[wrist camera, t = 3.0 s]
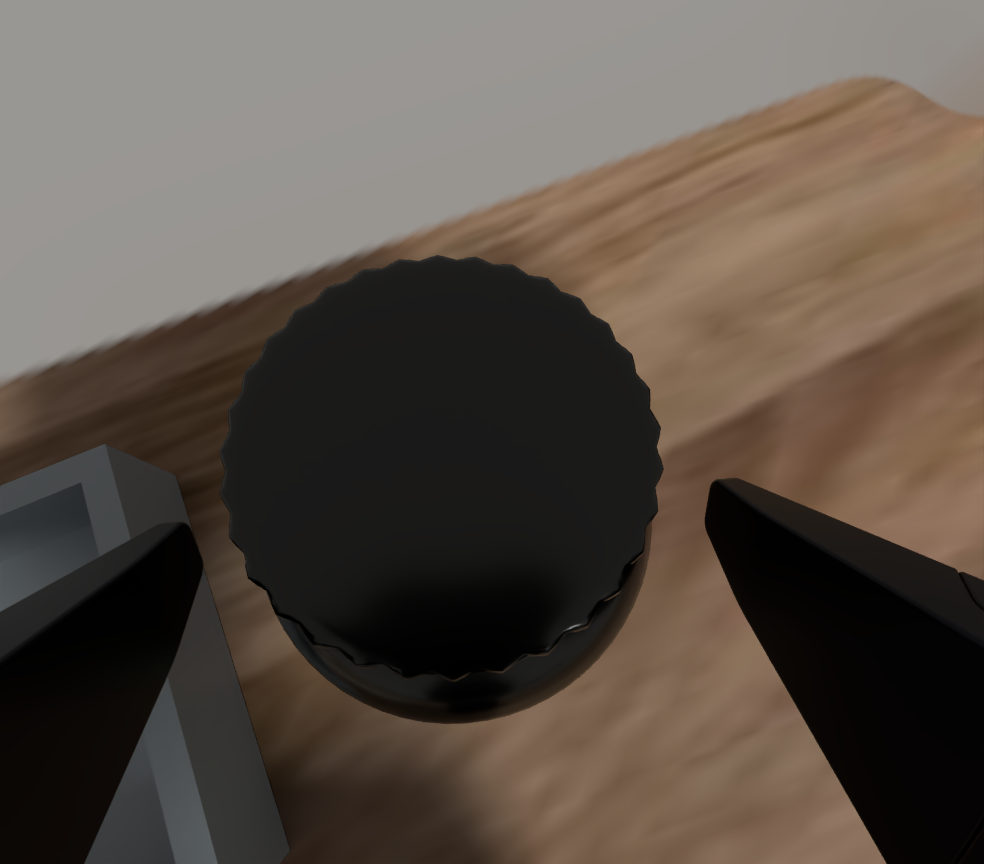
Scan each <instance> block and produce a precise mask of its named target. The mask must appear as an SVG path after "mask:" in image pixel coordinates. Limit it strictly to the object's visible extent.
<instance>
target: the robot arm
mask: <svg viewBox="0 0 984 864" xmlns="http://www.w3.org/2000/svg"><path fill="white" fill-rule="evenodd" d="M705 528H706V531H707V534H708V536H709V538H710V541H711V543H712V545H713V548H714V550H715V552H716V555H717V557H718V559H719V562H720V564H721V566H722V568H723V571H724V573H725V575H726V578H727V580H728V582H729V585H730V587H731V589H732V591H733V594H734V596H735V598H736V600H737V602H738V604H739V606H740V608H741V610H742V612H743V614H744V615H745V617H746V619H747V621H748V623H749V624H750V626H751V628H752V630H753V631H754V633H755V635H756V637H757V638H758V640H759V642H760V643H761V645H762V647H763V649H764V650H765V652H766V654H767V656H768V657H769V659H770V661H771V663H772V664H773V666H774V668H775V670H776V671H777V673H778V675H779V677H780V678H781V680H782V682H783V684H784V685H785V687H786V689H787V691H788V692H789V694H790V696H791V698H792V699H793V701H794V703H795V705H796V706H797V708H798V710H799V712H800V713H801V715H802V717H803V719H804V720H805V722H806V724H807V726H808V727H809V729H810V731H811V733H812V734H813V736H814V738H815V740H816V741H817V743H818V745H819V747H820V748H821V750H822V752H823V753H824V755H825V757H826V759H827V760H828V762H829V764H830V766H831V767H832V769H833V771H834V773H835V774H836V776H837V778H838V780H839V781H840V783H841V785H842V787H843V788H844V790H845V792H846V794H847V795H848V797H849V799H850V801H851V802H852V804H853V806H854V808H855V809H856V811H857V813H858V815H859V816H860V818H861V820H862V822H863V823H864V825H865V827H866V829H867V830H868V832H869V834H870V836H871V837H872V839H873V841H874V843H875V844H876V846H877V848H878V850H879V851H880V853H881V855H882V856H883V858H884V860H885V862H886V863H887V864H984V580H981V579H979V578H977V577H974V576H972V575H969V574H967V573H965V572H959V573H958V571H957V570H956V569H955V568H952V567H950V566H948V565H945V564H943V563H940V562H938V561H936V560H933V559H931V558H928V557H926V556H924V555H921V554H919V553H916V552H914V551H912V550H909V549H907V548H904V547H902V546H900V545H897V544H895V543H892V542H890V541H888V540H885V539H883V538H880V537H878V536H876V535H873V534H871V533H868V532H866V531H864V530H861V529H859V528H856V527H854V526H852V525H849V524H847V523H844V522H842V521H840V520H837V519H835V518H832V517H830V516H828V515H825V514H823V513H820V512H818V511H816V510H813V509H811V508H808V507H806V506H804V505H801V504H799V503H796V502H794V501H792V500H789V499H787V498H784V497H782V496H780V495H777V494H775V493H772V492H770V491H768V490H765V489H763V488H760V487H758V486H756V485H753V484H751V483H748V482H746V481H744V480H741V479H738V478H727V479H717V480H715V481H713V482H712V484H711V486H710V490H709V496H708V502H707V508H706V513H705ZM202 574H203V560H202V557H201V554H200V552H199V549H198V546H197V543H196V541H195V538H194V535H193V532H192V530H191V528H190V526H189V525H188V524H187V523H185V522H171V523H161V524H158V525H155V526H154V527H152V528H150V529H148V530H146V531H145V532H143V533H141V534H139V535H137V536H136V537H134V538H132V539H130V540H128V541H127V542H125V543H123V544H121V545H119V546H118V547H116V548H114V549H112V550H110V551H109V552H107V553H105V554H103V555H101V556H100V557H98V558H96V559H94V560H92V561H91V562H89V563H87V564H85V565H83V566H82V567H80V568H78V569H76V570H74V571H73V572H71V573H69V574H67V575H65V576H64V577H62V578H60V579H58V580H56V581H54V582H53V583H51V584H49V585H47V586H45V587H44V588H42V589H40V590H38V591H36V592H35V593H33V594H31V595H29V596H27V597H26V598H24V599H22V600H20V601H18V602H17V603H15V604H13V605H11V606H9V607H8V608H6V609H4V610H2V611H0V864H85V861H86V859H87V857H88V855H89V852H90V850H91V848H92V846H93V843H94V841H95V839H96V836H97V834H98V832H99V830H100V827H101V825H102V823H103V821H104V818H105V816H106V814H107V812H108V809H109V807H110V805H111V803H112V800H113V798H114V796H115V794H116V791H117V789H118V787H119V785H120V782H121V780H122V778H123V776H124V773H125V771H126V769H127V767H128V764H129V762H130V760H131V758H132V755H133V753H134V751H135V749H136V746H137V744H138V742H139V740H140V737H141V735H142V733H143V730H144V728H145V726H146V724H147V721H148V719H149V717H150V715H151V712H152V710H153V708H154V706H155V703H156V701H157V699H158V697H159V694H160V692H161V690H162V688H163V685H164V683H165V681H166V679H167V676H168V674H169V672H170V669H171V667H172V665H173V662H174V660H175V657H176V655H177V652H178V649H179V646H180V643H181V640H182V637H183V634H184V631H185V628H186V625H187V621H188V618H189V615H190V612H191V609H192V606H193V603H194V600H195V596H196V593H197V590H198V587H199V584H200V581H201V578H202Z"/></svg>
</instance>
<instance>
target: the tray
mask: <svg viewBox="0 0 984 864" xmlns="http://www.w3.org/2000/svg"><path fill="white" fill-rule="evenodd" d="M171 522H185V523H187V524H188V525H189V526H190V528H191V525H190V521H189V518H188V515H187V512H186V508H185V505H184V502H183V498H182V495H181V492H180V489H179V485H178V482H177V479H176V476H175V475H174V474H172V473H169V472H167V471H165V470H163V469H160V468H158V467H156V466H154V465H151V464H149V463H147V462H145V461H143V460H140V459H138V458H136V457H134V456H131V455H129V454H127V453H125V452H123V451H120V450H118V449H116V448H114V447H111V446H109V445H107V444H103V445H100V446H98V447H95V448H93V449H90V450H88V451H85V452H83V453H80V454H78V455H75V456H73V457H70V458H68V459H65V460H63V461H60V462H58V463H55V464H53V465H50V466H48V467H46V468H43V469H41V470H38V471H36V472H33V473H31V474H28V475H26V476H23V477H21V478H18V479H16V480H13V481H11V482H8V483H6V484H3V485H1V486H0V611H2V610H4V609H6V608H8V607H9V606H11V605H13V604H15V603H17V602H18V601H20V600H22V599H24V598H26V597H27V596H29V595H31V594H33V593H35V592H36V591H38V590H40V589H42V588H44V587H45V586H47V585H49V584H51V583H53V582H54V581H56V580H58V579H60V578H62V577H64V576H65V575H67V574H69V573H71V572H73V571H74V570H76V569H78V568H80V567H82V566H83V565H85V564H87V563H89V562H91V561H92V560H94V559H96V558H98V557H100V556H101V555H103V554H105V553H107V552H109V551H110V550H112V549H114V548H116V547H118V546H119V545H121V544H123V543H125V542H127V541H128V540H130V539H132V538H134V537H136V536H137V535H139V534H141V533H143V532H145V531H146V530H148V529H150V528H152V527H154V526H155V525H158V524H161V523H171ZM191 530H192V528H191ZM192 532H193V531H192ZM193 535H194V534H193ZM289 851H290V849H289V845H288V842H287V839H286V835H285V832H284V829H283V826H282V822H281V819H280V816H279V813H278V809H277V806H276V803H275V799H274V796H273V793H272V790H271V786H270V783H269V780H268V777H267V773H266V770H265V767H264V763H263V760H262V757H261V754H260V750H259V747H258V744H257V741H256V737H255V734H254V731H253V727H252V724H251V721H250V718H249V714H248V711H247V708H246V705H245V701H244V698H243V695H242V692H241V688H240V685H239V682H238V678H237V675H236V672H235V669H234V665H233V662H232V659H231V656H230V652H229V649H228V646H227V642H226V639H225V636H224V633H223V629H222V626H221V623H220V620H219V616H218V613H217V610H216V606H215V603H214V600H213V597H212V593H211V590H210V587H209V584H208V580H207V577H206V574H205V570H204V567H203V574H202V578H201V581H200V584H199V587H198V590H197V593H196V596H195V600H194V603H193V606H192V609H191V612H190V615H189V618H188V621H187V625H186V628H185V631H184V634H183V637H182V640H181V643H180V646H179V649H178V652H177V655H176V657H175V660H174V662H173V665H172V667H171V669H170V672H169V674H168V676H167V679H166V681H165V683H164V685H163V688H162V690H161V692H160V694H159V697H158V699H157V701H156V703H155V706H154V708H153V710H152V712H151V715H150V717H149V719H148V721H147V724H146V726H145V728H144V730H143V733H142V735H141V737H140V740H139V742H138V744H137V746H136V749H135V751H134V753H133V755H132V758H131V760H130V762H129V764H128V767H127V769H126V771H125V773H124V776H123V778H122V780H121V782H120V785H119V787H118V789H117V791H116V794H115V796H114V798H113V800H112V803H111V805H110V807H109V809H108V812H107V814H106V816H105V818H104V821H103V823H102V825H101V827H100V830H99V832H98V834H97V836H96V839H95V841H94V843H93V846H92V848H91V850H90V852H89V855H88V857H87V859H86V861H85V864H280V863H281V862H282V860H283V859H284V858H285V856H286V855H287V854H288V853H289Z"/></svg>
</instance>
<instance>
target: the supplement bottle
mask: <svg viewBox="0 0 984 864" xmlns="http://www.w3.org/2000/svg"><path fill="white" fill-rule="evenodd" d="M228 421H229V430H230V431H229V433H228V435H227V438H226V439H225V440H224V442H223V445H222V447H221V449H220V455H221V459H222V463H223V466H224V469H225V475H224V478H223V481H222V485H221V490H220V496H221V498H222V500H223V502H224V504H225V506H226V507H227V509H228V510H229V512H230V523H229V538H230V539H231V540H232V542H233V543H234V544H235V545H236V546H237V547H238V548H239V549H240V550H241V551H242V552H243V553H244V556H245V561H246V564H245V567H246V572H247V576H248V579H250V580H251V581H252V582H253V583H255V584H256V585H257V586H259V587H261V588H263V589H264V590H266V591H267V594H268V597H269V599H270V602H271V605H272V607H273V609H274V612H275V614H276V616H277V618H278V619H279V621H280V623H281V625H282V627H283V629H284V631H285V632H286V634H287V635H288V636H289V638H290V639H291V641H292V642H293V644H294V645H295V647H296V648H297V649H298V650H299V652H300V653H301V654H302V655H303V656H304V657H305V659H306V660H307V661H308V662H309V663H310V664H311V665H312V666H313V667H314V668H315V669H316V670H317V671H318V672H319V673H320V674H321V675H322V676H324V677H325V678H326V679H327V680H328V681H330V682H331V683H332V684H334V685H335V686H336V687H338V688H339V689H340V690H342V691H343V692H345V693H346V694H348V695H350V696H351V697H353V698H355V699H357V700H358V701H360V702H362V703H364V704H366V705H368V706H371V707H373V708H375V709H377V710H380V711H382V712H385V713H388V714H391V715H395V716H398V717H401V718H405V719H410V720H415V721H420V722H428V723H440V724H464V723H474V722H481V721H488V720H492V719H496V718H500V717H504V716H508V715H511V714H514V713H517V712H520V711H522V710H525V709H528V708H530V707H532V706H534V705H536V704H538V703H540V702H542V701H544V700H546V699H548V698H550V697H552V696H553V695H555V694H556V693H558V692H560V691H561V690H563V689H564V688H566V687H567V686H569V685H570V684H571V683H572V682H574V681H575V680H576V679H577V678H579V677H580V676H581V675H582V674H584V673H585V672H586V671H587V670H588V669H589V668H590V667H591V666H592V665H593V664H594V663H595V662H596V661H597V660H598V659H599V658H600V657H601V655H602V654H603V653H604V652H605V651H606V649H607V648H608V647H609V646H610V645H611V643H612V642H613V640H614V639H615V637H616V636H617V634H618V633H619V631H620V630H621V628H622V627H623V625H624V624H625V622H626V620H627V618H628V616H629V614H630V612H631V610H632V608H633V606H634V604H635V601H636V599H637V596H638V594H639V591H640V589H641V586H642V582H643V579H644V576H645V572H646V569H647V563H648V558H649V552H650V545H651V532H652V520H653V518H654V517H655V516H656V514H657V512H658V503H657V495H656V489H655V487H656V485H657V483H658V481H659V480H660V478H661V475H662V472H663V470H664V468H663V465H662V461H661V458H660V456H659V454H658V451H657V444H658V440H659V436H660V430H661V427H660V425H659V423H658V421H657V419H656V418H655V416H654V414H653V413H652V411H651V409H650V389H649V387H648V386H647V385H646V383H645V382H644V381H643V380H642V379H641V378H640V377H639V376H638V375H637V373H636V369H635V363H634V359H633V356H632V354H631V353H630V352H629V351H628V350H627V349H626V348H624V347H623V346H621V345H620V344H619V343H618V342H617V341H616V340H615V337H614V335H613V332H612V330H611V328H610V326H609V324H608V323H606V322H605V321H603V320H602V319H600V318H597V317H595V316H594V315H592V314H590V312H589V310H588V309H587V307H586V306H585V304H584V303H583V302H582V300H581V299H580V298H578V297H575V296H573V295H570V294H567V293H564V292H561V291H560V290H559V289H558V288H557V287H556V286H555V285H554V284H553V283H552V282H551V281H550V280H549V279H548V278H543V277H535V276H530V275H527V274H526V273H525V272H523V271H522V270H520V269H519V268H517V267H516V266H514V265H511V264H501V265H493V264H491V263H489V262H487V261H485V260H482V259H480V258H477V257H469V258H464V259H459V260H455V259H452V258H448V257H444V256H439V255H436V256H433V257H429V258H426V259H424V260H421V261H413V260H397V261H395V262H393V263H391V264H390V265H388V266H386V267H384V268H382V269H366V270H361V271H360V272H359V273H357V274H356V275H354V276H353V277H352V279H350V280H349V281H347V282H345V283H341V284H335V285H332V286H329V287H326V288H325V290H324V291H323V292H322V293H321V294H320V295H319V296H318V297H317V299H316V300H315V301H314V302H313V303H311V304H309V305H305V306H303V307H301V308H299V309H297V310H295V311H294V313H293V314H292V316H291V317H290V319H289V321H288V323H287V325H286V327H285V328H283V329H281V330H280V331H278V332H276V333H275V334H273V335H272V336H271V337H269V338H268V339H267V341H266V343H265V346H264V348H263V351H262V355H261V358H260V359H259V360H258V361H257V362H256V363H254V364H253V365H251V366H250V367H249V369H248V370H247V371H246V372H245V373H244V378H243V384H242V393H241V394H240V395H239V397H238V398H237V399H236V400H235V401H234V403H233V404H232V406H231V407H230V409H229V410H228Z"/></svg>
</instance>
